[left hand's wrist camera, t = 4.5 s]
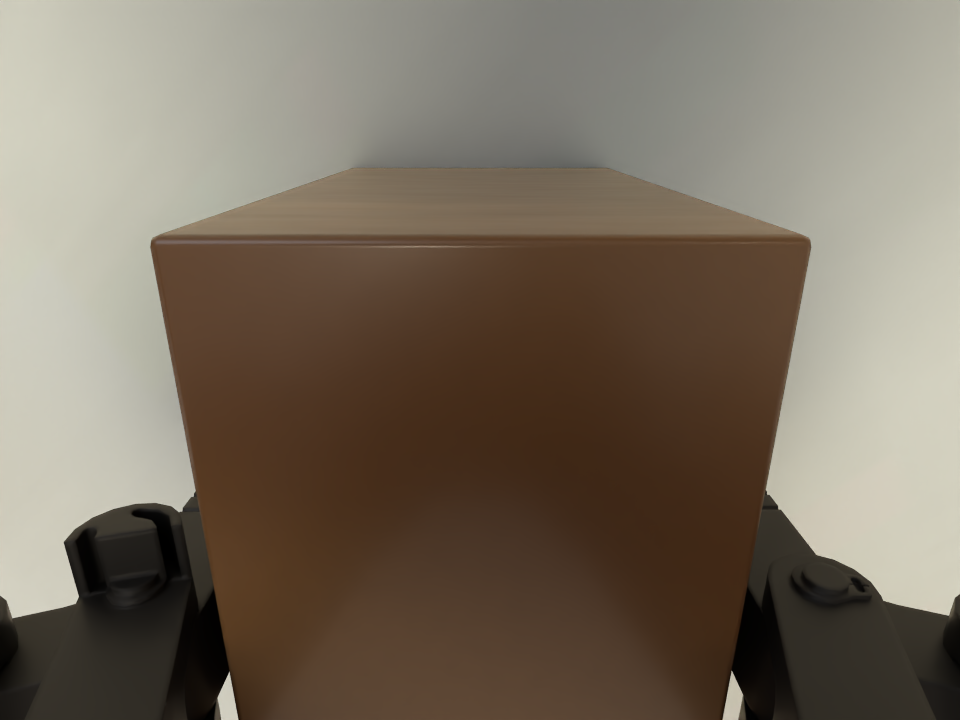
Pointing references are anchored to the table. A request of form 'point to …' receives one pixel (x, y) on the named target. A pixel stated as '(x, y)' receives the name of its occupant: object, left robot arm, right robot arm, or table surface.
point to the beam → (480, 439)
